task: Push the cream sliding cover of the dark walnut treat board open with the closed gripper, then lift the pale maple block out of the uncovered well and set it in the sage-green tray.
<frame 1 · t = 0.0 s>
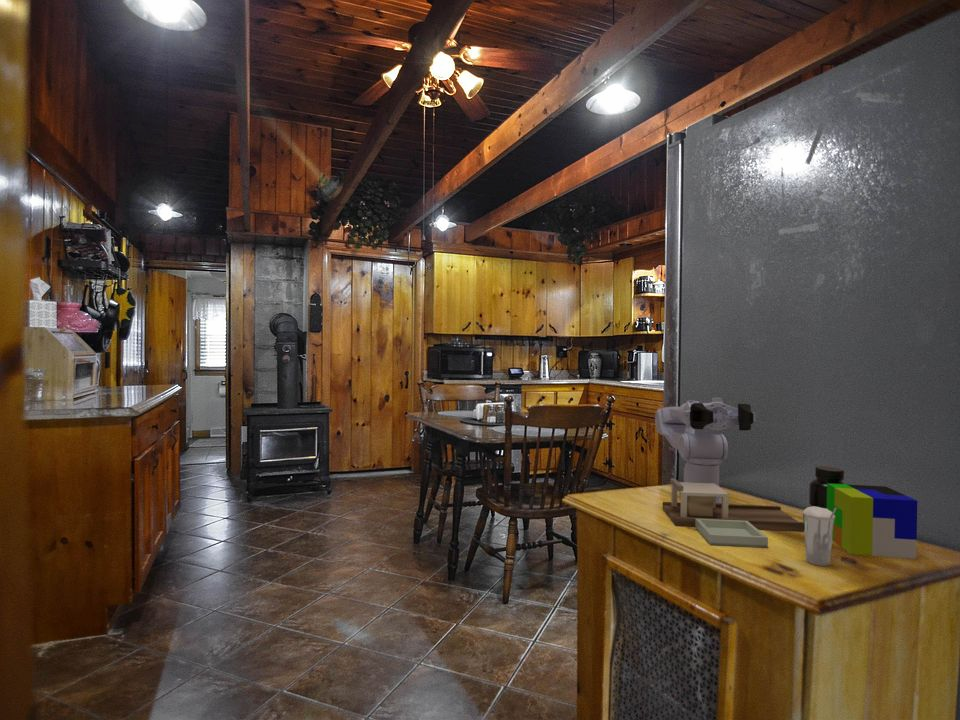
hand: (731, 417, 109), 22 cm above the table, tool horizontal, fingers open, 7 cm apart
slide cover: (697, 497, 114), point 4 cm above the table, slide at 0.0 cm
sage tray: (729, 537, 102), on the table
supplement bottle: (828, 529, 108), on the table
puzzle toy: (868, 547, 98), on the table
maple block: (698, 512, 114), point 1 cm above the table, touching treat board
milkshake: (819, 564, 90), on the table
treat board: (698, 518, 114), on the table
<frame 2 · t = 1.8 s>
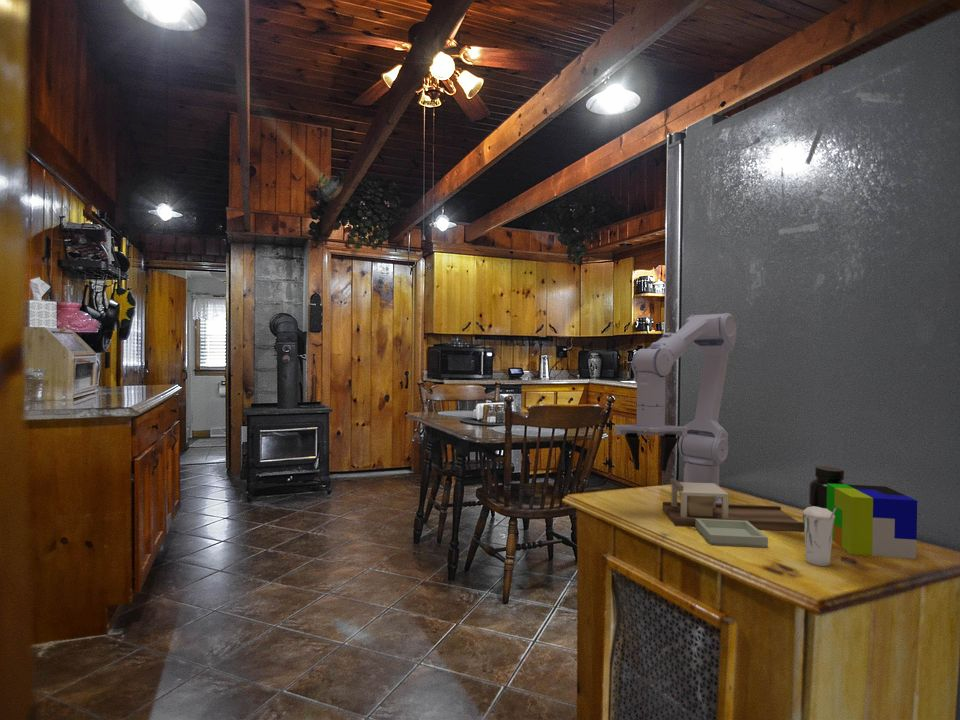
hand: (649, 469, 115), 10 cm above the table, tool pointing down, fingers open, 5 cm apart
nothing on the table moved.
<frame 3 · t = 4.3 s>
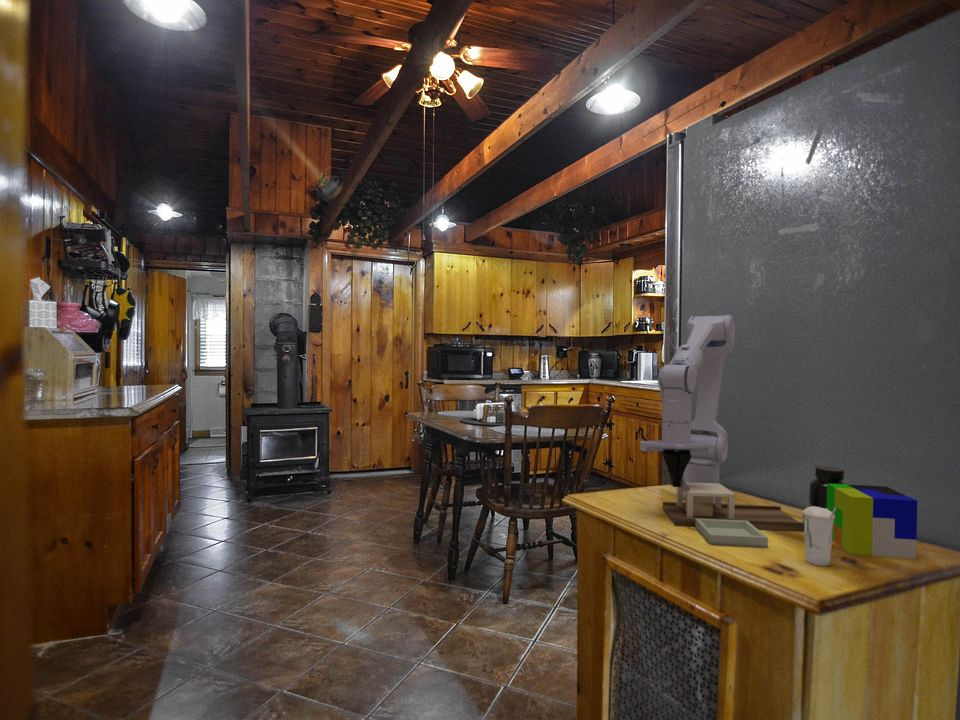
hand: (675, 486, 115), 7 cm above the table, tool pointing down, fingers closed
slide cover: (703, 497, 114), point 4 cm above the table, slide at 1.2 cm, touching gripper
everything else where it was.
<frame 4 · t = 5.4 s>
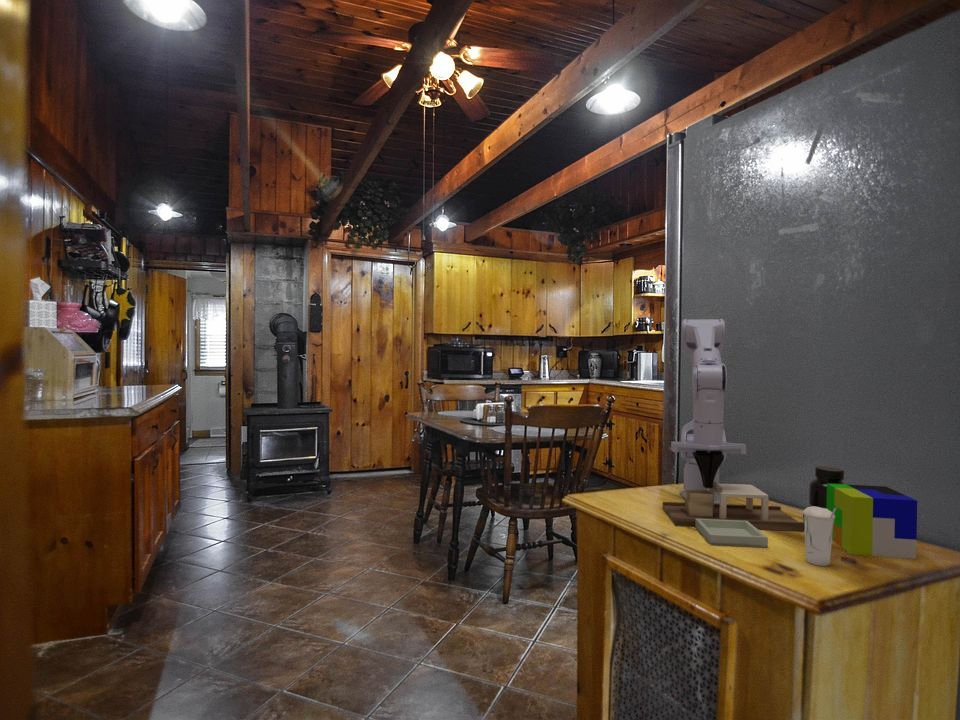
hand: (707, 487, 114), 7 cm above the table, tool pointing down, fingers closed
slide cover: (735, 498, 113), point 4 cm above the table, slide at 7.6 cm, touching gripper
everything else where it was.
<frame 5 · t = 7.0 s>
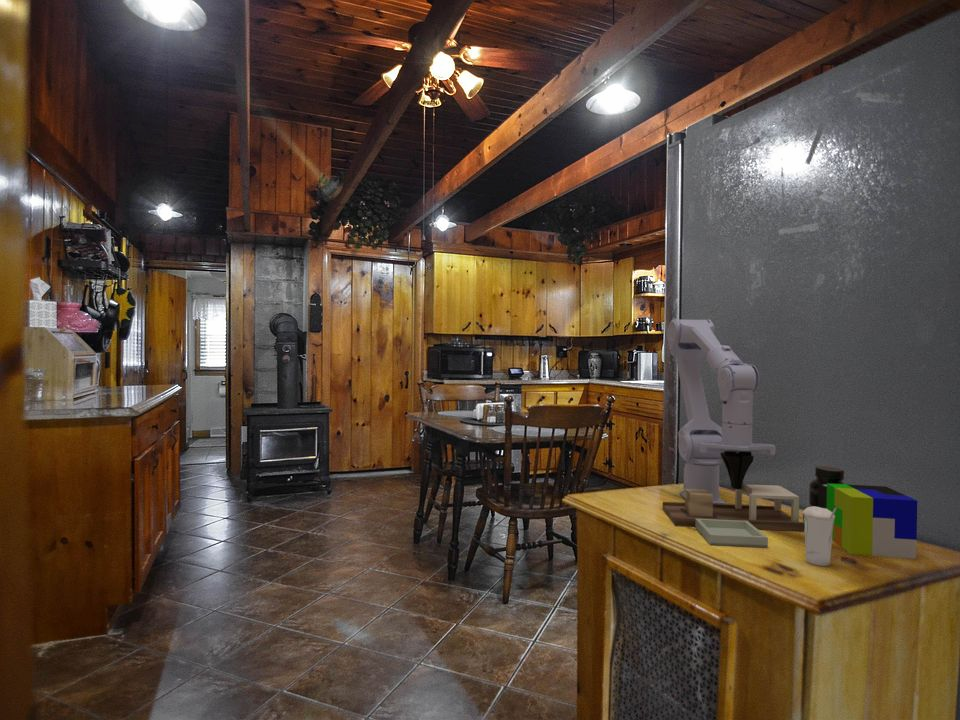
hand: (736, 488, 113), 7 cm above the table, tool pointing down, fingers closed
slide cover: (764, 499, 113), point 4 cm above the table, slide at 13.3 cm, touching gripper
everything else where it was.
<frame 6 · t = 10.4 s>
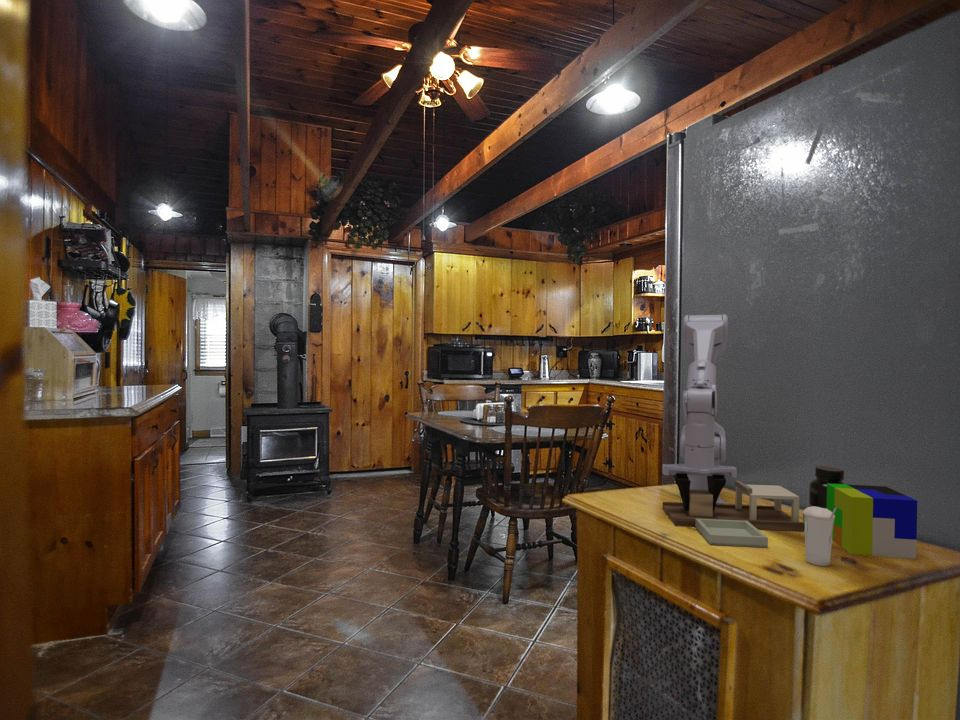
hand: (698, 510, 114), 2 cm above the table, tool pointing down, fingers closed on maple block, 4 cm apart
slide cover: (764, 499, 113), point 4 cm above the table, slide at 13.4 cm
maple block: (698, 512, 114), point 1 cm above the table, touching gripper, treat board
everything else where it was.
when the fingers open (2 cm above the table, at t = 14.3 s): maple block drops 1 cm, resting on sage tray.
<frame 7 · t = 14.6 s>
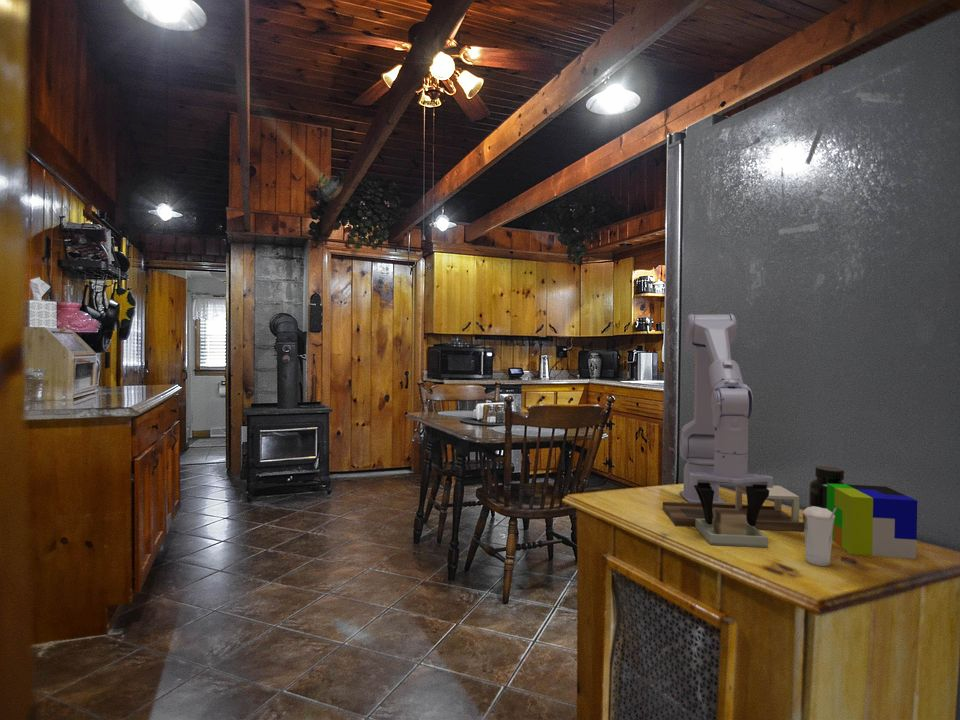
hand: (729, 523, 102), 3 cm above the table, tool pointing down, fingers open, 7 cm apart
maple block: (729, 534, 103), resting on sage tray
everything else where it was.
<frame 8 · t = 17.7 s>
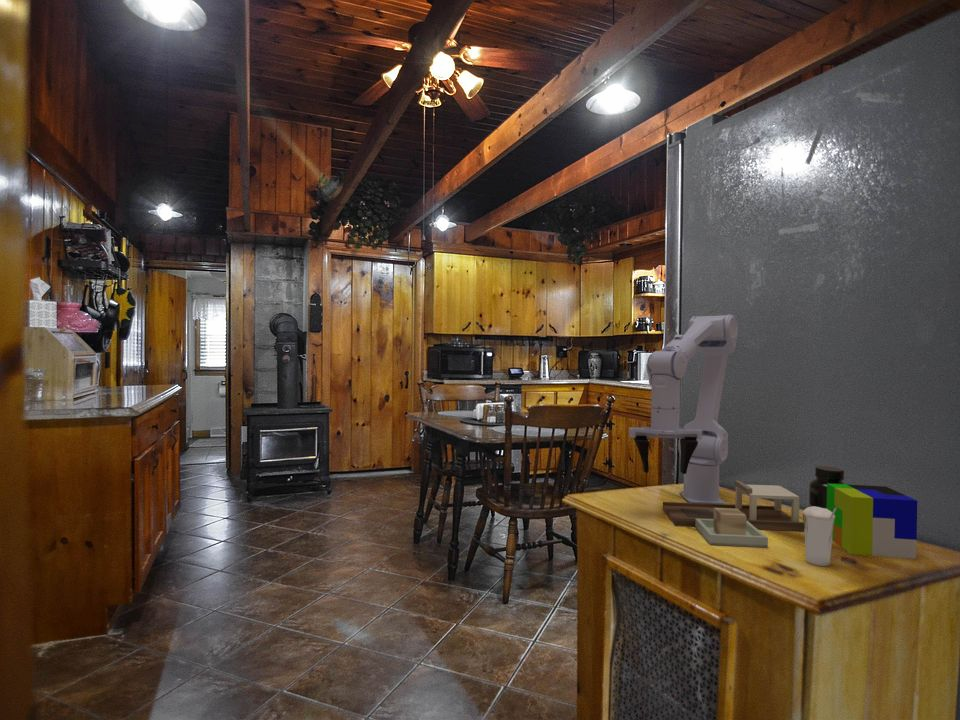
hand: (664, 472, 115), 9 cm above the table, tool pointing down, fingers open, 7 cm apart
nothing on the table moved.
at the end: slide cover slide at 13.4 cm; maple block 0.1 cm off-centre on the sage tray, point 0.4 cm above the sage tray's base; maple block tilted 0° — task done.
